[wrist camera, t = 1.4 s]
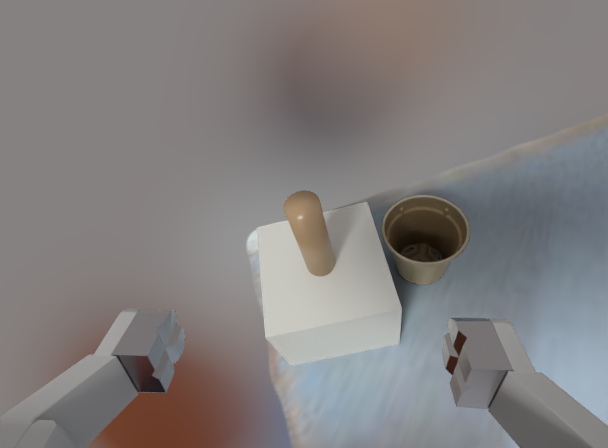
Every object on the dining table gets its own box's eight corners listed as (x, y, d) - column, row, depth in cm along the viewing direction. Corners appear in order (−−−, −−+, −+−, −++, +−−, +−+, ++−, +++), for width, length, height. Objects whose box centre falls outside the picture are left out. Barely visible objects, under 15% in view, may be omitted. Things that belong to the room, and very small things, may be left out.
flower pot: (368, 270, 47) (364, 236, 40) (407, 222, 50) (410, 182, 43) (432, 312, 43) (441, 281, 36) (471, 256, 46) (486, 217, 39)
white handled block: (371, 250, 49) (361, 133, 32) (399, 343, 41) (406, 255, 24) (280, 270, 50) (224, 168, 33) (291, 365, 42) (225, 295, 25)
